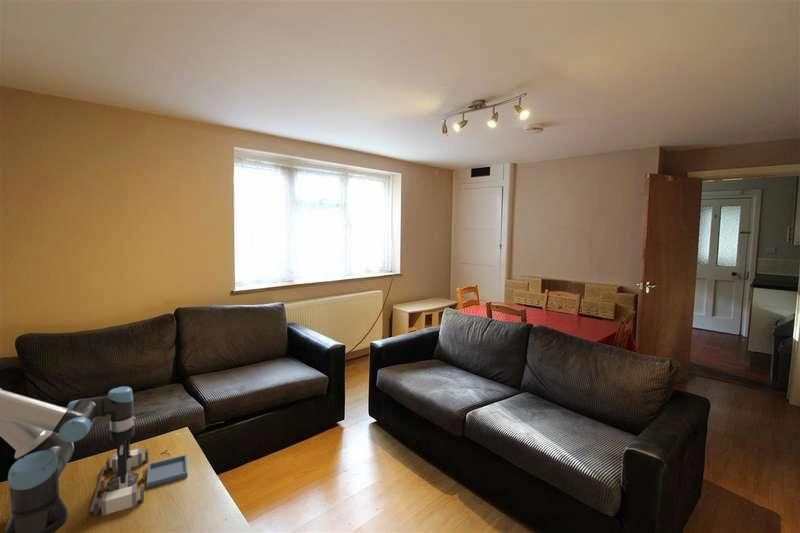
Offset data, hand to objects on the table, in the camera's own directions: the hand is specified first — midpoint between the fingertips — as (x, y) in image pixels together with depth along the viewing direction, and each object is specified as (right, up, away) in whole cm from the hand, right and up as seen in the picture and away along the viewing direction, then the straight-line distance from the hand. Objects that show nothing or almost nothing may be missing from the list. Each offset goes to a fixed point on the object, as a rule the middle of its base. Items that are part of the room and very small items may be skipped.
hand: (125, 482), depth 147 cm
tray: (+12, 0, +7) cm, 14 cm away
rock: (0, -1, -1) cm, 1 cm away
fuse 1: (-7, +1, +12) cm, 14 cm away
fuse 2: (+7, -2, -11) cm, 13 cm away
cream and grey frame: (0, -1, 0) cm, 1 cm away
